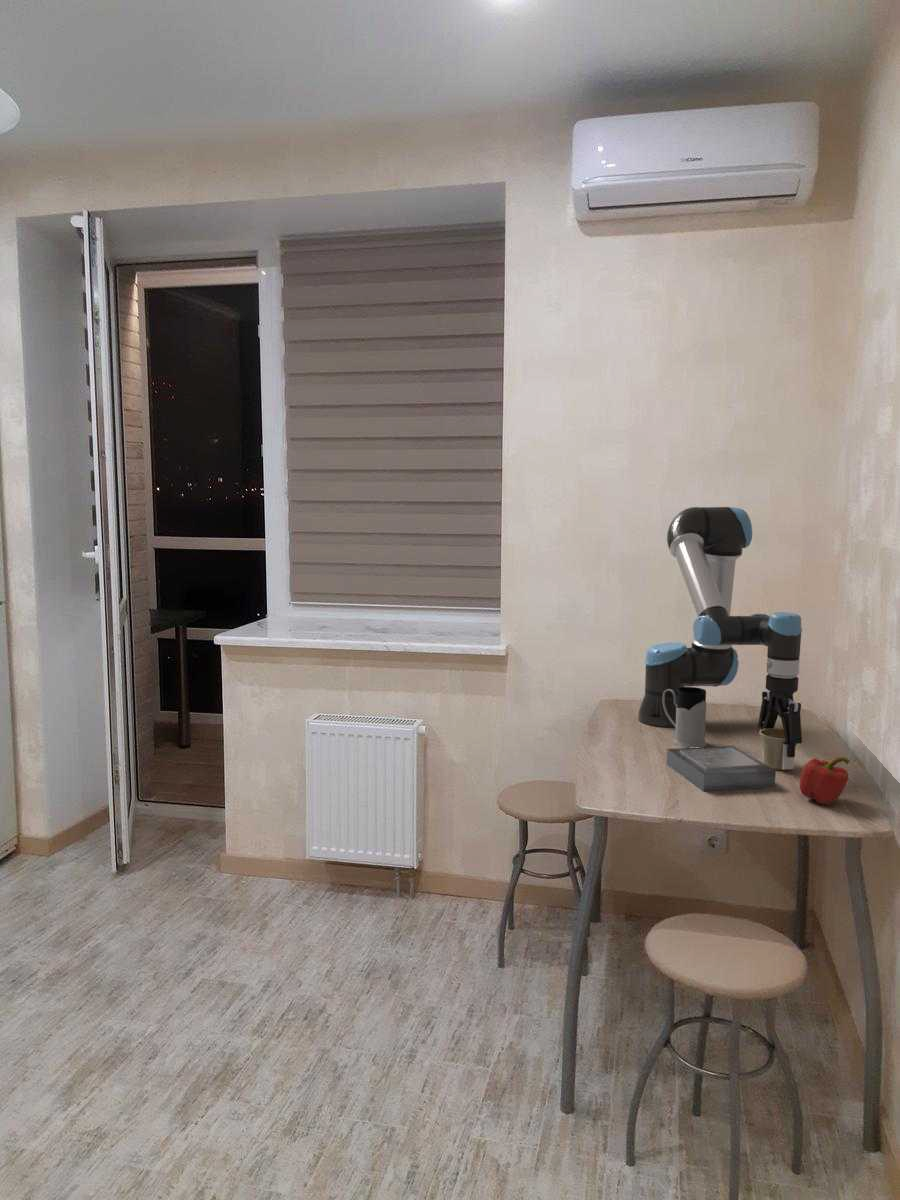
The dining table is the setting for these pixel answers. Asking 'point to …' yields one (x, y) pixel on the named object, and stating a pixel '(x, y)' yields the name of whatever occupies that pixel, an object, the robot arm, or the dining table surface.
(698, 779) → the gray square platform
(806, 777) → the vegetable
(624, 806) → the dining table surface
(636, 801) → the dining table surface
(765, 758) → the flower pot
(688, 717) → the grey pitcher
